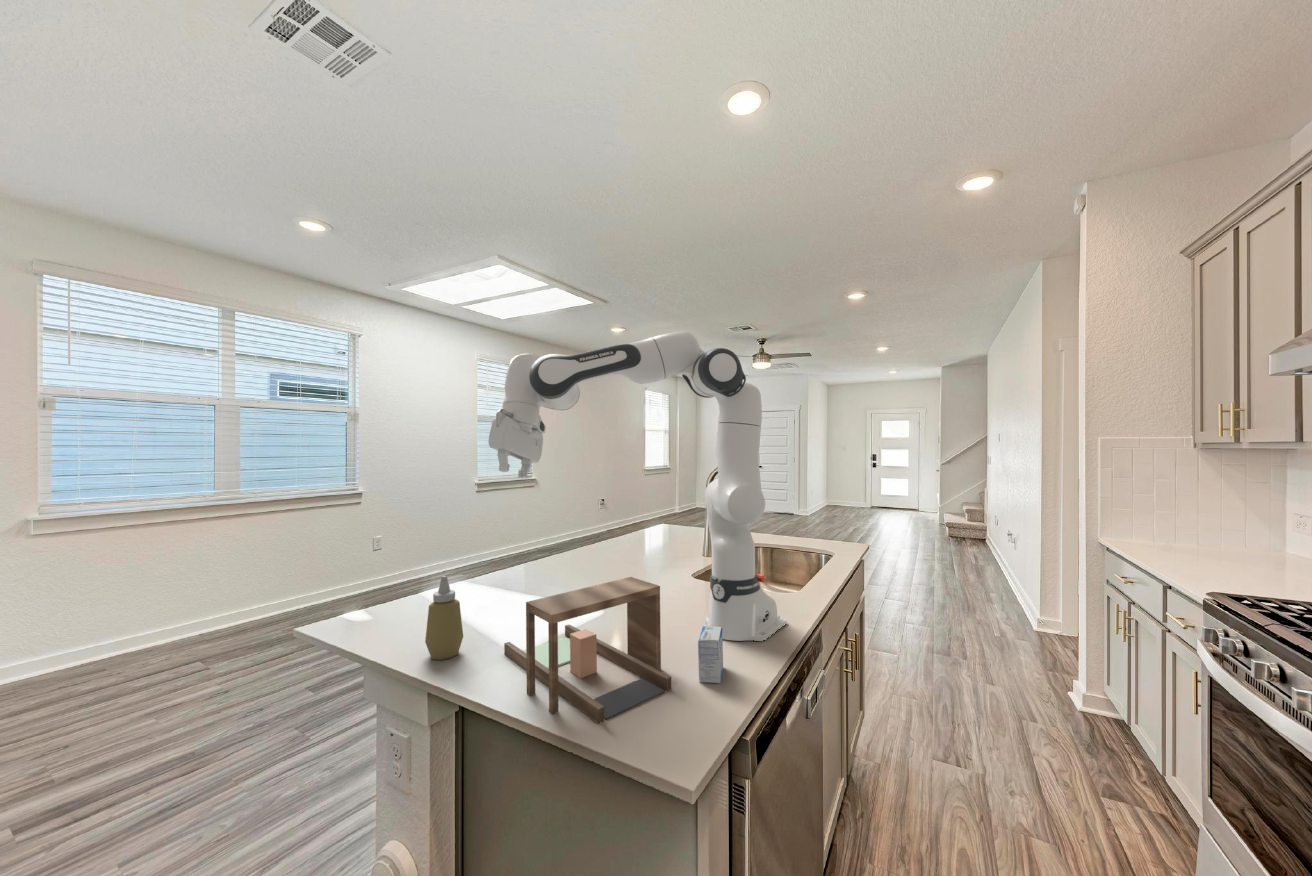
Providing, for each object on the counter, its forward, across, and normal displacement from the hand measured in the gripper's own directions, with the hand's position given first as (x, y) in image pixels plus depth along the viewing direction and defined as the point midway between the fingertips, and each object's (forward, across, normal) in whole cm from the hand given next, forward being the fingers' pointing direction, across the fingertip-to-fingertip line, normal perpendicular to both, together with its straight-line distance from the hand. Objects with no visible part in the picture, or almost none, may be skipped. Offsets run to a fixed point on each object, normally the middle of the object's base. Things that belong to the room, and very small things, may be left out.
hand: (513, 474), depth 115 cm
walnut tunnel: (+42, +1, -21) cm, 46 cm away
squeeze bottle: (+42, +3, +14) cm, 44 cm away
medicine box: (+41, +4, -47) cm, 63 cm away
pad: (+40, +8, -11) cm, 42 cm away
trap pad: (+43, -8, -32) cm, 55 cm away
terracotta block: (+42, +1, -21) cm, 47 cm away
